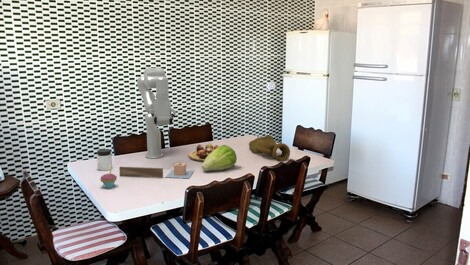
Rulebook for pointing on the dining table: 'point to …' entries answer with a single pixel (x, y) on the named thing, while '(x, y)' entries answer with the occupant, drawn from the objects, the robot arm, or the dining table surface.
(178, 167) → the lettered cube
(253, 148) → the brown looped sculpture
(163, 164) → the dining table surface
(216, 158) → the lettuce
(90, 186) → the dining table surface
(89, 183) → the dining table surface
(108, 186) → the cupcake
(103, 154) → the jar
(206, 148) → the wooden plate with food
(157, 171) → the walnut screen
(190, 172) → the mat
